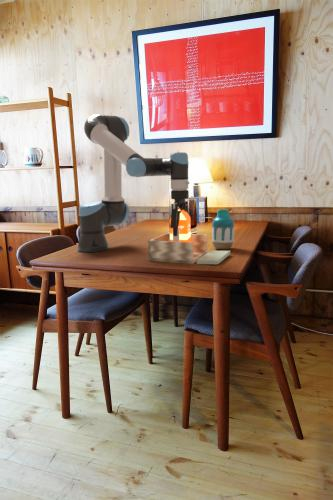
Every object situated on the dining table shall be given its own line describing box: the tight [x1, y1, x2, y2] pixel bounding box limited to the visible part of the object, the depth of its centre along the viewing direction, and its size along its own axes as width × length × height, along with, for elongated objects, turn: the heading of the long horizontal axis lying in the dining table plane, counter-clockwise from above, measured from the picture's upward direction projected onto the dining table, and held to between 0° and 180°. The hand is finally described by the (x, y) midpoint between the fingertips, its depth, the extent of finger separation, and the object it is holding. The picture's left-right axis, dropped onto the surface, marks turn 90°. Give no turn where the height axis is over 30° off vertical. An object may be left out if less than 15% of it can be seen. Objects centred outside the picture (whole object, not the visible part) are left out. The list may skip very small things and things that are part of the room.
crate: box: [147, 232, 208, 265], centre depth 170 cm, size 20×20×9 cm
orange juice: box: [169, 207, 192, 242], centre depth 168 cm, size 8×9×20 cm
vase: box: [211, 208, 235, 251], centre depth 183 cm, size 11×11×19 cm
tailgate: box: [196, 250, 231, 265], centre depth 164 cm, size 2×19×9 cm
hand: (180, 241), depth 169 cm, fingers closed on orange juice, 9 cm apart
